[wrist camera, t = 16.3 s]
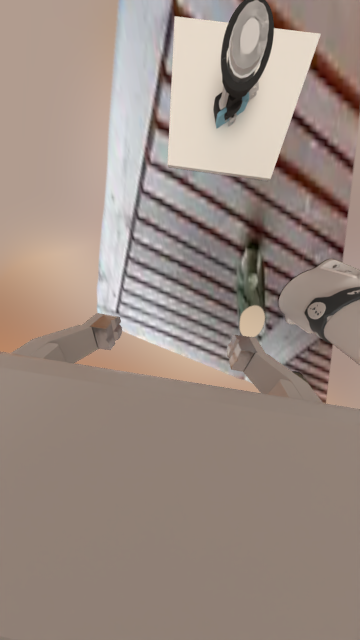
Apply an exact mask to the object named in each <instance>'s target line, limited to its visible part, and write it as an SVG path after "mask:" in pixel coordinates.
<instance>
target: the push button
mask: <svg viewBox="0 0 360 640" xmlns="http://www.w3.org/2000/svg"><path fill="white" fill-rule="evenodd" d="M273 36H274V22H273V16H272V12H271V9H270V7H269V5H268V3H267V2H266V1H265V0H244V1H243V2H242V3H241V4H240V5H239V6H238V7H237V9H236V10H235V12H234V13H233V15H232V17H231V19H230V21H229V23H228V25H227V28H226V31H225V35H224V39H223V44H222V51H221V72H222V83H223V91H222V92H221V93H220V94H219V95H217V96H216V97H215V102H214V109H213V111H214V117H215V123H216V129H217V128H219V127H220V126H222V125H223V124H225V123H226V122H228V121H229V124H228V126H230V125H232V124H233V123H234V122H235V120H236V117H237V115H238V114H240V113H242V112H243V111H244V110H245V108H246V106H247V103H248V102H249V100H250V99H252V98H253V97H255V96H256V94H257V93H256V91H258V90H259V82H258V80H259V79H260V77H261V75H262V73H263V71H264V69H265V67H266V65H267V62H268V59H269V56H270V53H271V49H272V44H273ZM228 48H229V50H228ZM227 51H228V61H227ZM260 61H261V63H260ZM259 63H260V67H259V69H258V70H257V72H256V73H255V70H256V68H257V67H258V65H259ZM254 73H255V75H254ZM254 86H256V87H255V88H254ZM253 93H254V95H252V94H253ZM231 122H232V123H231ZM230 123H231V124H230Z"/></svg>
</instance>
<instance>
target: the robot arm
mask: <svg viewBox="0 0 360 640" xmlns="http://www.w3.org/2000/svg"><path fill="white" fill-rule="evenodd" d="M333 266H334V267H333ZM279 308H280V310H281V311H282V312H283V314H284V315H285V320H286V322H287V323H288V324H296V325H297V326H299V327H300V328H301V329H303V330H304V331H306V332H307V333H316V335H317V336H318V337H320V338H321V339H323V340H325V341H326V342H328V343H331V344H333V345H335V346H336V347H337V348H338V349H340V350H341V351H342V352H343V353H345V354H346V355H347V356H349V357H350V358H351V359H352V360H354V361H355V362H356V363H358V364H359V365H360V270H358V269H356V268H354V267H351V266H349V265H346V264H344V263H342V262H339V261H337V260H334V259H328V260H326V261H324V262H323V263H321V264H320V265H319V266H317V267H316V268H314V269H312V270H309V271H306V272H304V273H302V274H300V275H298V276H297V277H295V278H294V279H293V280H291V281H290V282H289V283H288V284H287V285H286V287H285V288H284V289H283V291H282V293H281V295H280V297H279ZM120 322H121V320H120V317H118V316H112V315H106V314H100V313H97V314H95V315H94V316H93V317H91V318H90V319H89V320H87V321H86V322H85V323H84V324H82V325H78V326H74V327H71V328H68V329H64V330H61V331H58V332H55V333H51V334H48V335H45V336H42V337H38V338H35V339H32V340H31V341H29V342H28V343H26V344H24V345H23V346H21V347H20V348H18V349H17V350H15V351H13V352H12V353H6V352H0V640H360V409H355V408H349V407H343V406H336V405H330V404H324V403H323V402H322V401H321V400H320V399H319V397H318V396H317V395H316V393H315V392H314V391H313V389H312V388H311V387H310V385H309V384H308V383H307V382H305V381H304V380H303V379H301V378H300V377H299V376H297V375H296V374H294V373H293V372H292V371H290V370H289V369H287V368H286V367H285V366H283V365H282V364H281V363H279V362H278V361H276V360H275V359H274V358H272V357H271V356H270V355H267V354H266V353H265V352H264V350H263V348H262V347H261V345H260V344H259V342H258V340H257V339H256V338H255V337H246V336H239V335H232V337H231V342H230V343H229V344H228V346H227V356H228V357H229V358H230V360H229V363H230V367H231V369H232V370H237V371H243V372H244V373H245V374H246V376H247V377H248V378H249V379H250V380H251V382H252V383H253V384H254V385H255V386H256V387H257V388H258V390H259V391H260V392H261V393H255V392H249V391H243V390H236V389H230V388H224V387H217V386H212V385H205V384H199V383H192V382H187V381H180V380H174V379H168V378H162V377H155V376H149V375H143V374H136V373H130V372H124V371H118V370H112V369H105V368H99V367H92V366H86V365H80V364H74V363H75V362H77V361H79V360H80V359H82V358H84V357H85V356H87V355H89V354H91V353H92V352H94V351H96V350H97V349H105V350H111V348H112V347H113V346H114V345H115V341H116V340H118V339H119V338H120V336H121V333H122V327H121V326H120V325H119V324H120Z"/></svg>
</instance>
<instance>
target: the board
mask: <svg viewBox="0 0 360 640" xmlns="http://www.w3.org/2000/svg"><path fill="white" fill-rule="evenodd" d="M227 25H228V23H225V22H217V21H209V20H200V19H192V18H184V17H175V24H174V45H173V65H172V86H171V107H170V127H169V148H168V167H169V168H176V169H184V170H191V171H198V172H206V173H213V174H220V175H227V176H235V177H242V178H249V179H257V180H264V181H268V180H270V179H271V176H272V173H273V170H274V167H275V164H276V162H277V159H278V156H279V153H280V150H281V147H282V144H283V141H284V138H285V136H286V133H287V130H288V127H289V124H290V121H291V118H292V115H293V112H294V109H295V107H296V104H297V101H298V98H299V95H300V92H301V89H302V86H303V83H304V81H305V78H306V75H307V72H308V69H309V66H310V63H311V60H312V57H313V55H314V52H315V49H316V46H317V43H318V40H319V37H320V34H317V33H309V32H301V31H292V30H284V29H276V28H274V36H273V44H272V49H271V53H270V56H269V59H268V62H267V65H266V67H265V69H264V71H263V73H262V75H261V77H260V79H259V80H258V82H259V90H258V91H256V93H257V94H256V96H255V97H253V98H252V99H250V100H249V102H248V103H247V106H246V108H245V110H244V111H243V112H242V113H240V114H238V115H237V117H236V120H235V122H234V123H233V124H232V125H230V126H228V124H229V121H228V122H226V123H225V124H223V125H222V126H220V127H219V128H217V129H216V123H215V117H214V111H213V109H214V102H215V97H216V96H217V95H219V94H220V93H221V92H222V91H223V83H222V72H221V51H222V44H223V39H224V35H225V31H226V28H227ZM228 50H229V48H228ZM227 61H228V51H227ZM260 63H261V61H260ZM260 63H259V65H258V67H257V68H256V70H255V73H256V72H257V70H258V69H259V67H260ZM255 73H254V75H255ZM255 87H256V86H254V88H255ZM252 95H254V93H253V94H252ZM231 123H232V122H231ZM231 123H230V124H231Z"/></svg>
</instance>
